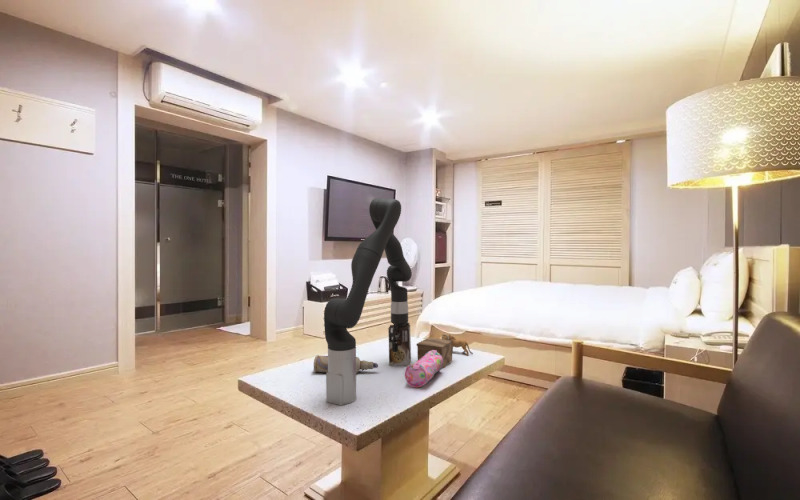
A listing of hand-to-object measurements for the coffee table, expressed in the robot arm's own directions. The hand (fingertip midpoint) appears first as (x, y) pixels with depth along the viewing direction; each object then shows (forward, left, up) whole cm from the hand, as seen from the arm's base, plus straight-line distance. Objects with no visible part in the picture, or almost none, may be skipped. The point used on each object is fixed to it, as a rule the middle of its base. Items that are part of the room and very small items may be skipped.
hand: (399, 349), depth 160 cm
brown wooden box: (+8, -13, -6) cm, 16 cm away
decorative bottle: (-21, +14, -7) cm, 26 cm away
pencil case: (-11, -17, -7) cm, 22 cm away
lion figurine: (+25, -16, -6) cm, 30 cm away
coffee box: (0, 0, -6) cm, 6 cm away
